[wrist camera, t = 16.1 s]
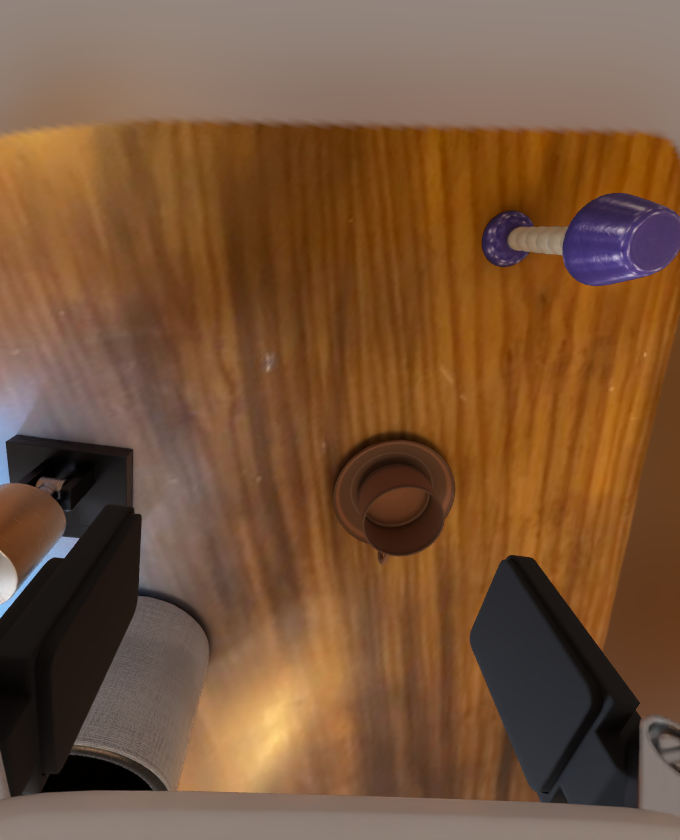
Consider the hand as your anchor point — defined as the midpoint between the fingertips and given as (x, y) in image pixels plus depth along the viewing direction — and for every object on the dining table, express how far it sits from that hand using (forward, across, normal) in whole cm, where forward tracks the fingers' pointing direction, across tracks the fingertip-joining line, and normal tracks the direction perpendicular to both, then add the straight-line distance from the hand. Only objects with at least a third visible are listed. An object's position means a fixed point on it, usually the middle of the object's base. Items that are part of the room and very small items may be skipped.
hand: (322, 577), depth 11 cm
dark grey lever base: (+28, +19, +18) cm, 38 cm away
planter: (+28, +13, +37) cm, 49 cm away
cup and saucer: (+28, -11, +13) cm, 33 cm away
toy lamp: (+28, -14, -11) cm, 34 cm away
